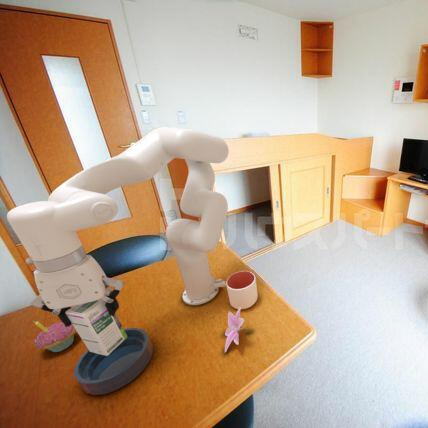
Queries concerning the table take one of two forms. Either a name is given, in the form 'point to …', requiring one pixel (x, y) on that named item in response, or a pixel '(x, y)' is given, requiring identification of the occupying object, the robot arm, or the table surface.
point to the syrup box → (97, 326)
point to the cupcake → (55, 337)
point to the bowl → (114, 364)
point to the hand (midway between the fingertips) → (93, 316)
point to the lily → (233, 328)
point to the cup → (242, 289)
